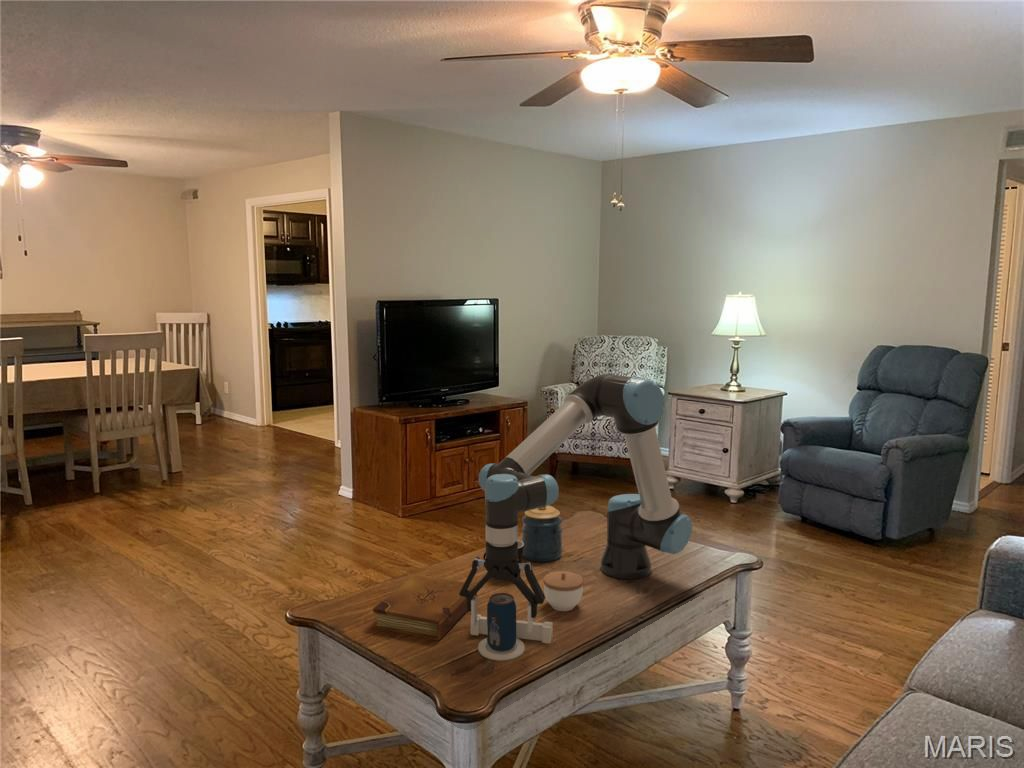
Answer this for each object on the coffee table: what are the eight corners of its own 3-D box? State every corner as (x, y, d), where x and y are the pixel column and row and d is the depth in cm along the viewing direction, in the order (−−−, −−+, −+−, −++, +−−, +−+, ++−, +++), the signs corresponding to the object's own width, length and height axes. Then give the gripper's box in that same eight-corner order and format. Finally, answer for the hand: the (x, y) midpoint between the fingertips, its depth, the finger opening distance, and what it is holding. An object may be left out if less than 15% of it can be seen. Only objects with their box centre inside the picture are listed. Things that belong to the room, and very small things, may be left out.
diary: (440, 643, 174) (440, 621, 174) (373, 630, 181) (372, 608, 180) (477, 603, 196) (477, 583, 195) (416, 593, 202) (415, 573, 201)
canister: (515, 559, 226) (515, 505, 224) (530, 545, 238) (530, 494, 236) (554, 565, 222) (554, 510, 219) (567, 551, 233) (568, 498, 231)
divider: (552, 637, 176) (552, 622, 176) (550, 643, 173) (550, 628, 173) (473, 629, 180) (473, 614, 180) (470, 634, 177) (470, 619, 177)
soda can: (515, 638, 174) (515, 591, 173) (516, 653, 167) (516, 604, 166) (487, 639, 174) (487, 592, 172) (487, 653, 167) (486, 604, 165)
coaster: (528, 640, 175) (528, 637, 175) (519, 663, 164) (519, 660, 164) (484, 635, 177) (484, 632, 177) (472, 657, 167) (472, 654, 166)
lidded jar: (556, 618, 186) (556, 584, 185) (535, 602, 196) (536, 569, 194) (590, 610, 191) (591, 576, 190) (569, 594, 201) (569, 562, 199)
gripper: (557, 539, 168) (556, 624, 171) (455, 531, 173) (456, 614, 176) (552, 551, 161) (551, 640, 164) (445, 542, 166) (447, 628, 169)
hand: (502, 627), depth 170 cm, fingers open, 13 cm apart
